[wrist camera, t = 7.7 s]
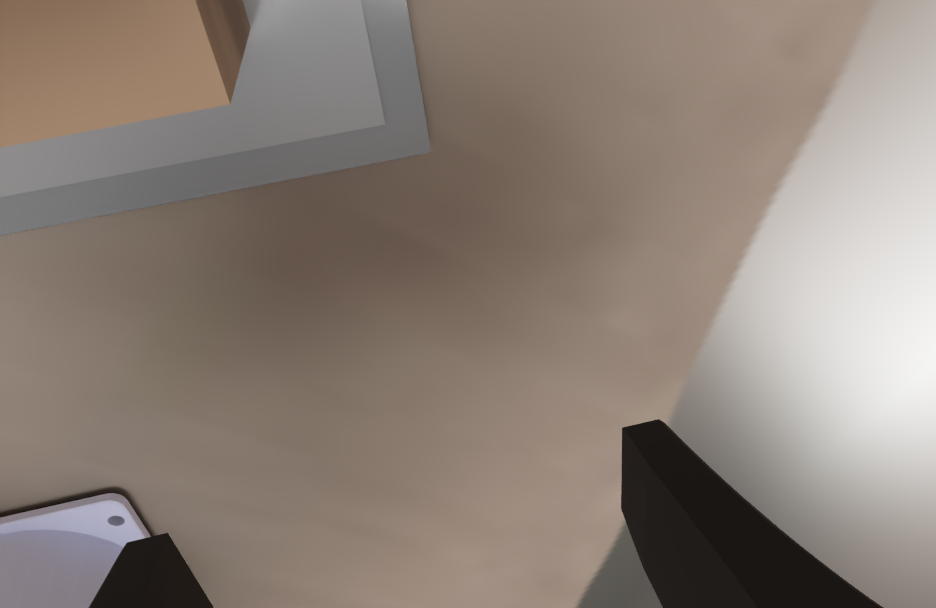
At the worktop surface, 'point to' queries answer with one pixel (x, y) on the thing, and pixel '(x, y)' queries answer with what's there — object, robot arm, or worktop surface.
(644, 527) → the robot arm
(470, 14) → the worktop surface
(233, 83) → the cube
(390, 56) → the grey framed panel
